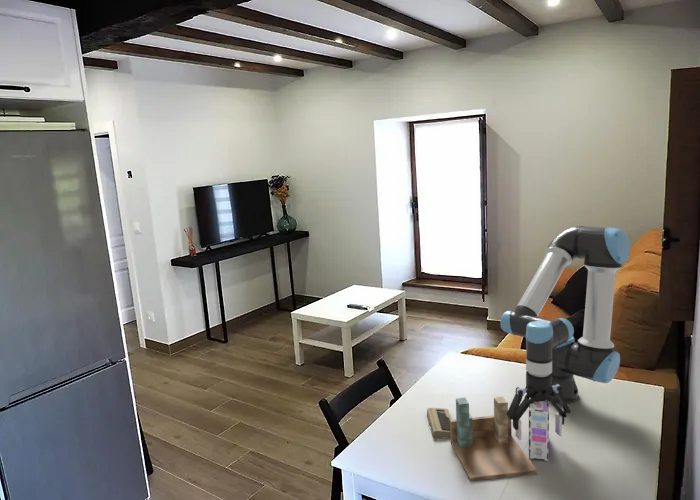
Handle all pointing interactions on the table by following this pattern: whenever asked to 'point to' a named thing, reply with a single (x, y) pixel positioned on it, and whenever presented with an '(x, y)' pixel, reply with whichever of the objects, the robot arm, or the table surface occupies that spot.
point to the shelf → (487, 443)
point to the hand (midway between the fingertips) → (538, 436)
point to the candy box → (539, 430)
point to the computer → (439, 422)
